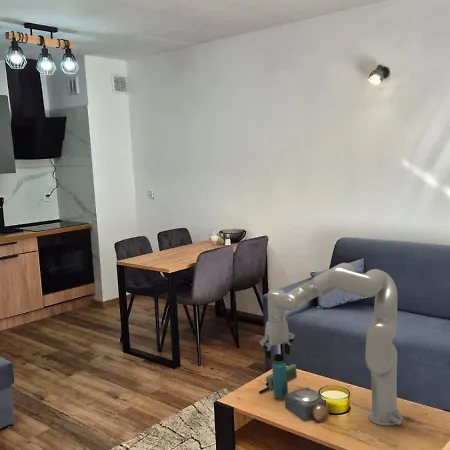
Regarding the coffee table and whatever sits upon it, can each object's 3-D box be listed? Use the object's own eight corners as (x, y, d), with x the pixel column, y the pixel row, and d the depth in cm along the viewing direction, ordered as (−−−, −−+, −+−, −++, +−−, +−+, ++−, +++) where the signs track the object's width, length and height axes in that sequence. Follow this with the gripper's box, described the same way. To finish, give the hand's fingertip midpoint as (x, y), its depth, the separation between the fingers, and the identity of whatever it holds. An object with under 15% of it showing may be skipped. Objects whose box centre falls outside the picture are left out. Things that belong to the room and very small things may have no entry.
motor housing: (334, 417, 206) (334, 402, 205) (310, 425, 201) (310, 410, 200) (308, 400, 222) (307, 386, 221) (285, 407, 217) (284, 393, 216)
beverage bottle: (283, 403, 220) (281, 359, 218) (270, 399, 224) (268, 356, 222) (290, 397, 226) (289, 354, 223) (278, 393, 230) (276, 351, 227)
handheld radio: (298, 378, 245) (262, 396, 229) (292, 376, 248) (257, 394, 231) (297, 364, 245) (261, 381, 228) (291, 363, 247) (256, 380, 230)
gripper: (288, 312, 228) (289, 349, 230) (255, 319, 220) (256, 357, 222) (298, 317, 221) (299, 354, 223) (264, 324, 213) (265, 363, 216)
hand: (277, 356), depth 223 cm, fingers open, 9 cm apart
